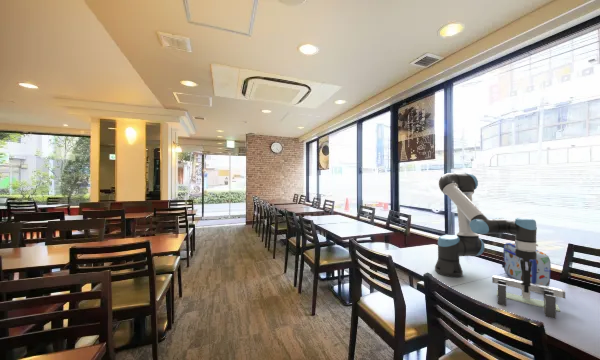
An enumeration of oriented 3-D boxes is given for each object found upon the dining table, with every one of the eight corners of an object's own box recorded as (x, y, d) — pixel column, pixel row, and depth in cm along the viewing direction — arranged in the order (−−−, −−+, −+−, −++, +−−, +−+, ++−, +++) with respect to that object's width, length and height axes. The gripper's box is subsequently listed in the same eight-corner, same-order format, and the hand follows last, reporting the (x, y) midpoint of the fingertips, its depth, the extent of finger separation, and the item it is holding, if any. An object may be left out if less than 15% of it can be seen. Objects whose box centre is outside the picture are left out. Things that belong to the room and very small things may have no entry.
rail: (492, 282, 123) (492, 276, 123) (492, 280, 125) (492, 275, 125) (565, 298, 106) (565, 292, 106) (564, 296, 108) (564, 289, 108)
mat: (496, 296, 120) (496, 295, 120) (496, 291, 125) (496, 290, 125) (560, 311, 106) (560, 310, 106) (557, 305, 111) (557, 304, 111)
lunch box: (498, 271, 152) (498, 238, 152) (517, 273, 149) (517, 238, 149) (531, 291, 125) (531, 250, 125) (554, 293, 123) (554, 251, 123)
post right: (545, 316, 102) (545, 294, 102) (543, 310, 107) (543, 289, 107) (555, 319, 100) (555, 297, 100) (553, 312, 105) (553, 291, 105)
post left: (497, 304, 112) (497, 284, 112) (497, 298, 117) (497, 279, 117) (506, 306, 110) (506, 286, 110) (505, 300, 115) (505, 281, 115)
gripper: (538, 255, 107) (538, 306, 107) (534, 247, 119) (534, 293, 119) (516, 251, 112) (516, 300, 112) (514, 244, 124) (514, 288, 124)
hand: (525, 296), depth 115 cm, fingers closed on rail, 3 cm apart
